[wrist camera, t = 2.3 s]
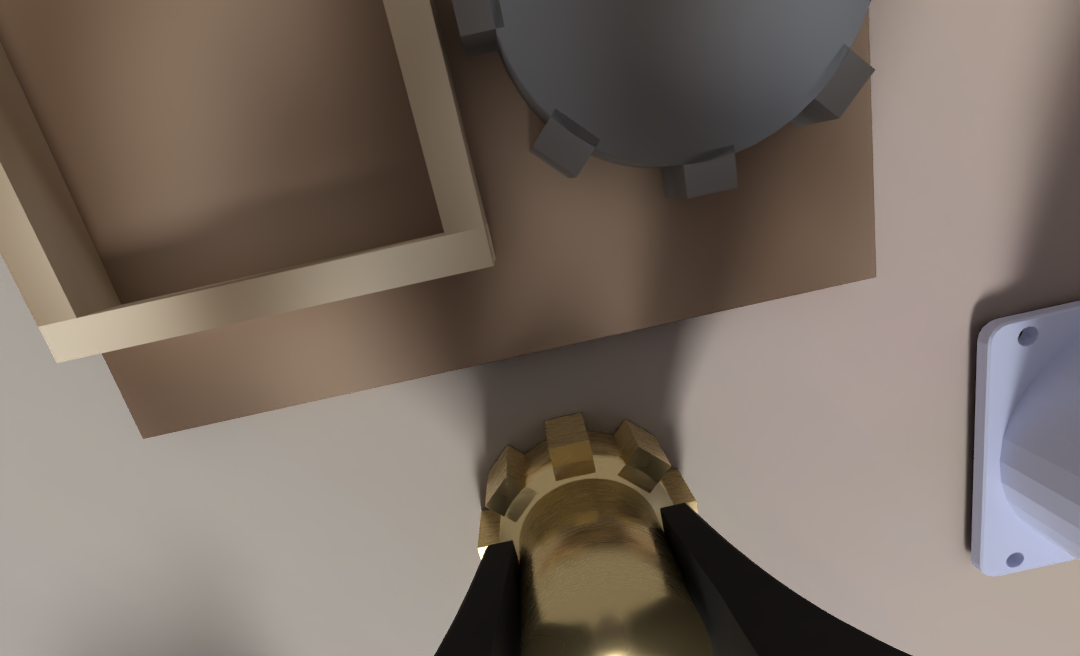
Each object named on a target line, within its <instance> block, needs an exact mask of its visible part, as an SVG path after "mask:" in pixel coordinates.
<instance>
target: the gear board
mask: <svg viewBox="0 0 1080 656" xmlns="http://www.w3.org/2000/svg"><path fill="white" fill-rule="evenodd" d="M870 2H871V0H0V253H1V255H2V257H3V259H4V261H5V263H6V265H7V267H8V269H9V271H10V273H11V275H12V277H13V279H14V281H15V283H16V285H17V286H18V288H19V290H20V292H21V294H22V296H23V298H24V300H25V302H26V304H27V306H28V308H29V310H30V312H31V314H32V316H33V318H34V320H35V321H36V323H37V325H38V327H39V329H40V331H41V333H42V335H43V337H44V339H45V341H46V343H47V345H48V347H49V349H50V351H51V353H52V355H53V356H54V358H55V360H56V362H57V363H61V362H65V361H70V360H74V359H78V358H83V357H87V356H92V355H96V354H101V353H102V355H103V357H104V359H105V361H106V363H107V365H108V367H109V369H110V371H111V373H112V375H113V378H114V380H115V382H116V384H117V386H118V388H119V390H120V392H121V394H122V396H123V398H124V400H125V402H126V404H127V406H128V408H129V411H130V413H131V415H132V417H133V419H134V421H135V423H136V425H137V427H138V429H139V431H140V433H141V435H142V437H143V439H145V438H149V437H154V436H158V435H163V434H167V433H172V432H176V431H181V430H185V429H190V428H194V427H199V426H204V425H208V424H213V423H217V422H222V421H226V420H231V419H235V418H240V417H244V416H249V415H253V414H258V413H262V412H267V411H271V410H276V409H281V408H285V407H290V406H294V405H299V404H303V403H308V402H312V401H317V400H321V399H326V398H330V397H335V396H339V395H344V394H348V393H353V392H358V391H362V390H367V389H371V388H376V387H380V386H385V385H389V384H394V383H398V382H403V381H407V380H412V379H416V378H421V377H425V376H430V375H435V374H439V373H444V372H448V371H453V370H457V369H462V368H466V367H471V366H475V365H480V364H484V363H489V362H493V361H498V360H502V359H507V358H512V357H516V356H521V355H525V354H530V353H534V352H539V351H543V350H548V349H552V348H557V347H561V346H566V345H570V344H575V343H580V342H584V341H589V340H593V339H598V338H602V337H607V336H611V335H616V334H620V333H625V332H629V331H634V330H638V329H643V328H647V327H652V326H657V325H661V324H666V323H670V322H675V321H679V320H684V319H688V318H693V317H697V316H702V315H706V314H711V313H715V312H720V311H724V310H729V309H734V308H738V307H743V306H747V305H752V304H756V303H761V302H765V301H770V300H774V299H779V298H783V297H788V296H792V295H797V294H801V293H806V292H811V291H815V290H820V289H824V288H829V287H833V286H838V285H842V284H847V283H851V282H856V281H860V280H865V279H869V278H874V277H876V249H875V215H874V180H873V145H872V111H871V75H872V73H873V72H874V71H875V69H874V68H872V67H871V66H870V41H869V5H870Z"/></svg>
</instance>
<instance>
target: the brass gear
mask: <svg viewBox="0 0 1080 656" xmlns="http://www.w3.org/2000/svg"><path fill="white" fill-rule="evenodd" d="M545 428H546V436H547V440H545V441H544V442H542V443H540V444H538V445H537V446H535V447H534V448H532V449H531V450H530V451H528V452H527V453H526V454H523V453H521V452H519V451H517V450H516V449H514V448H512V447H510V446H508V445H507V446H506V448H505V449H504V451H503V452H502V453H501V455H500V456H499V458H498V459H497V461H496V462H495V464H494V465H493V467H492V468H491V469H490V471H489V472H488V479H487V490H486V501H485V507H487V508H489V509H490V510H485V511H481V520H480V530H479V540H478V551H479V554H480V558H481V559H482V557H483V554H484V552H485V550H486V548H487V547H488V545H492V544H497V543H501V542H506V541H510V540H513V542H514V546H515V550H516V553H517V557H518V561H519V564H520V628H521V656H713V654H712V645H711V641H710V637H709V635H708V633H707V630H706V628H705V626H704V624H703V621H702V619H701V617H700V614H699V612H698V610H697V607H696V605H695V603H694V600H693V598H692V596H691V594H690V591H689V589H688V587H687V584H686V582H685V580H684V577H683V575H682V573H681V570H680V568H679V566H678V564H677V561H676V559H675V557H674V554H673V552H672V550H671V547H670V545H669V543H668V540H667V538H666V536H665V534H664V529H663V524H662V518H661V512H660V508H663V507H667V506H672V505H676V504H681V503H686V504H687V505H689V506H690V507H691V508H692V509H693V510H694V511H695V512H696V513H697V514H698V510H697V504H696V500H695V498H694V496H693V495H692V493H691V491H690V489H689V488H688V486H687V484H686V483H685V481H684V479H683V477H682V476H681V474H680V472H679V470H678V469H673V470H669V469H670V467H671V464H670V462H669V460H668V459H667V457H666V455H665V453H664V452H663V450H662V448H661V446H660V445H659V443H658V441H657V439H656V437H655V436H653V435H651V434H650V433H648V432H646V431H645V430H643V429H641V428H640V427H638V426H636V425H635V424H633V423H631V422H629V421H628V420H626V419H625V420H624V422H623V423H622V424H621V426H620V427H619V428H618V430H617V431H616V433H615V434H614V435H611V434H607V433H603V432H595V431H587V430H586V427H585V424H584V420H583V417H582V414H581V413H577V414H573V415H568V416H563V417H559V418H554V419H550V420H545ZM668 470H669V471H668Z"/></svg>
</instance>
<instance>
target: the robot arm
mask: <svg viewBox="0 0 1080 656" xmlns="http://www.w3.org/2000/svg"><path fill="white" fill-rule="evenodd" d="M1022 330H1023V333H1022V335H1021V336H1020V338H1019V339H1018V336H1019V333H1020V332H1021V331H1022ZM660 512H661V518H662V524H663V529H664V534H665V536H666V538H667V540H668V543H669V545H670V547H671V550H672V552H673V554H674V557H675V559H676V561H677V564H678V566H679V568H680V570H681V573H682V575H683V577H684V580H685V582H686V584H687V587H688V589H689V591H690V594H691V596H692V598H693V600H694V603H695V605H696V607H697V610H698V612H699V614H700V617H701V619H702V621H703V624H704V626H705V628H706V630H707V633H708V635H709V637H710V641H711V645H712V654H713V656H912V655H909V654H907V653H905V652H903V651H900V650H898V649H896V648H894V647H892V646H890V645H888V644H886V643H884V642H882V641H879V640H878V639H876V638H874V637H872V636H870V635H868V634H866V633H864V632H862V631H860V630H858V629H856V628H855V627H853V626H851V625H849V624H847V623H845V622H843V621H841V620H839V619H838V618H836V617H834V616H832V615H831V614H829V613H827V612H826V611H824V610H822V609H820V608H819V607H817V606H816V605H814V604H813V603H811V602H809V601H808V600H806V599H805V598H803V597H801V596H800V595H798V594H797V593H795V592H794V591H792V590H791V589H789V588H788V587H787V586H785V585H784V584H782V583H781V582H779V581H778V580H777V579H775V578H774V577H772V576H771V575H770V574H768V573H767V572H766V571H764V570H763V569H762V568H760V567H759V566H758V565H756V564H755V563H754V562H752V561H751V560H750V559H749V558H747V557H746V556H745V555H744V554H743V553H741V552H740V551H739V550H738V549H736V548H735V547H734V546H733V545H731V544H730V543H729V542H728V541H727V540H726V539H724V538H723V537H722V536H721V535H720V534H719V533H718V532H717V531H715V530H714V529H713V528H712V527H711V526H710V525H709V524H708V523H707V522H706V521H704V520H703V519H702V518H701V517H700V516H699V515H698V514H697V513H696V512H695V511H694V510H693V509H692V508H691V507H690V506H689V505H687V504H686V503H681V504H676V505H672V506H667V507H663V508H660ZM1075 559H1077V560H1079V561H1080V301H1075V302H1071V303H1066V304H1062V305H1057V306H1052V307H1048V308H1043V309H1039V310H1034V311H1030V312H1025V313H1021V314H1016V315H1011V316H1007V317H1002V318H998V319H995V320H992V321H990V322H989V323H987V324H986V325H985V326H984V327H983V328H982V330H981V331H980V333H979V336H978V340H977V370H976V404H975V439H974V473H973V508H972V542H971V561H972V564H973V565H974V566H975V567H976V568H977V569H978V570H979V571H981V572H982V573H983V574H984V575H987V576H1000V575H1005V574H1009V573H1014V572H1019V571H1023V570H1028V569H1033V568H1037V567H1042V566H1047V565H1051V564H1056V563H1061V562H1065V561H1070V560H1075ZM434 656H521V628H520V564H519V561H518V557H517V553H516V550H515V546H514V542H513V540H510V541H506V542H501V543H497V544H492V545H488V547H487V548H486V550H485V552H484V554H483V557H482V559H481V562H480V564H479V567H478V569H477V572H476V574H475V576H474V579H473V581H472V583H471V585H470V587H469V590H468V592H467V594H466V596H465V598H464V600H463V602H462V604H461V606H460V608H459V611H458V613H457V615H456V617H455V619H454V621H453V623H452V624H451V626H450V628H449V630H448V632H447V634H446V635H445V637H444V639H443V641H442V643H441V644H440V646H439V648H438V650H437V652H436V653H435V655H434Z"/></svg>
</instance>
